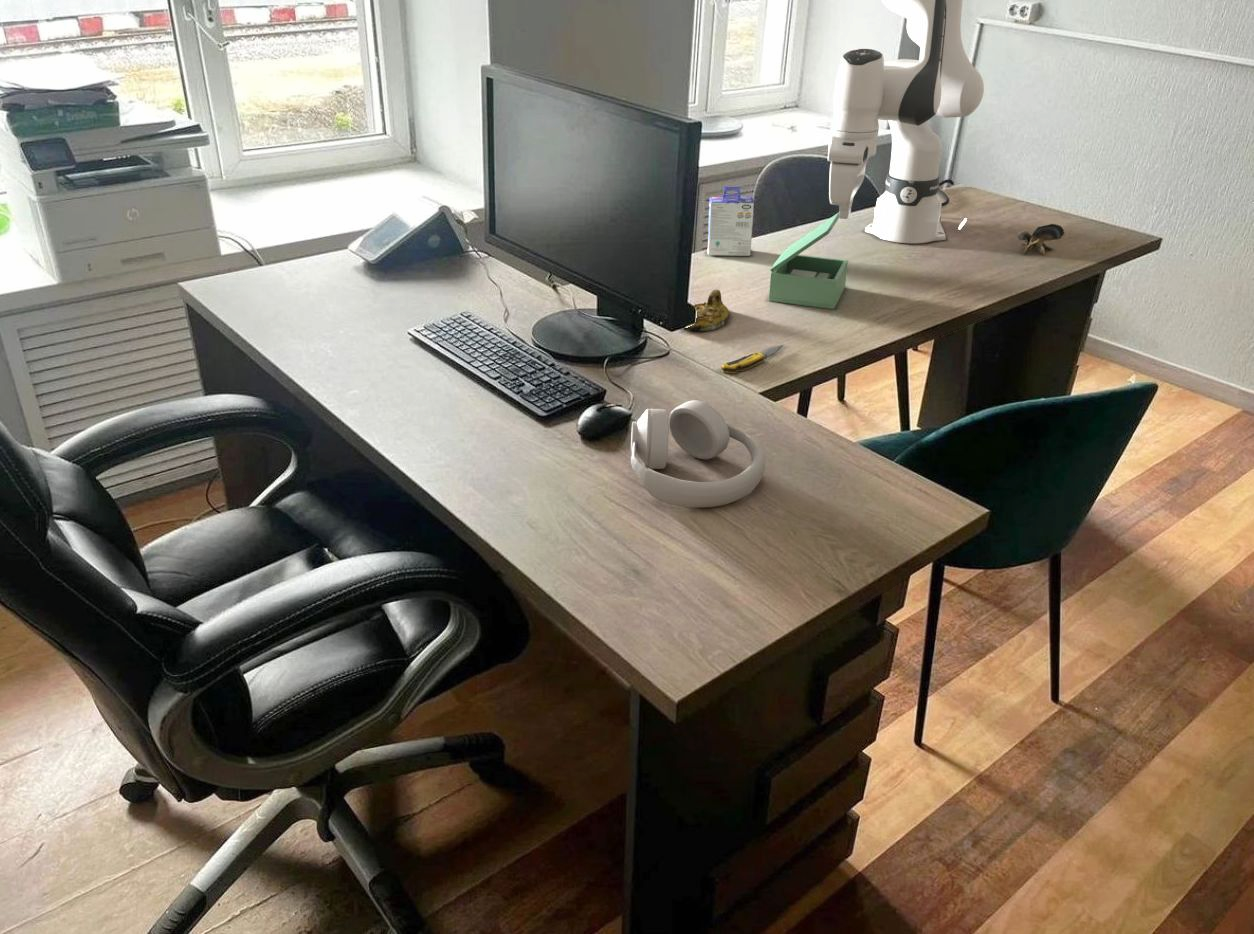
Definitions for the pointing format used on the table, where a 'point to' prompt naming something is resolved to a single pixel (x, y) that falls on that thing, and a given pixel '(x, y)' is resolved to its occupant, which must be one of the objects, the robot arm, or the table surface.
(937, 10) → the robot arm
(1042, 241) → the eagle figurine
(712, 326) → the seal
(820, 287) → the green box
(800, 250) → the cover
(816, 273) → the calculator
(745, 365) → the utility knife
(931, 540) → the table surface
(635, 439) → the headphones
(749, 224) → the ink cartridge box
